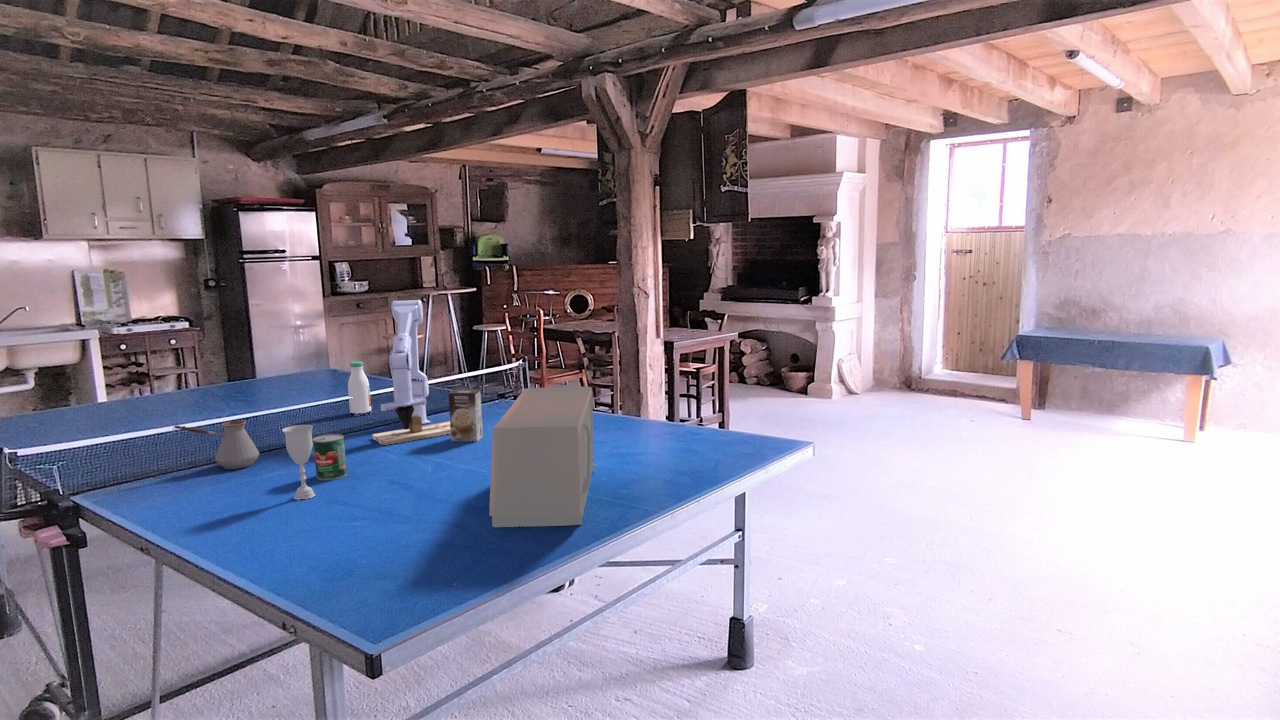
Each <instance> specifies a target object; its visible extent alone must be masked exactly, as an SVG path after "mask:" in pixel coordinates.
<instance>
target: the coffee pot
mask: <svg viewBox="0 0 1280 720" xmlns="http://www.w3.org/2000/svg"><path fill="white" fill-rule="evenodd" d="M245 424H247V421H246V420H231V421H226V422H223V423H222V424H220V425H221V427H222V428H223V431H224V432H223V433H222V432H215V431H210V430H206V429H201V428H198V427H186V426H185V425H183V426H181V425H174V426H173V428H172V430H171V431H172V433H173V434H174V433H176V431H177V430H182V431H188V432H191V433H197V434H198V433H199V434H203V435H204V434H207V435H211V436H218V437H222V438H221V441H220V445H219V448H218V450H217V452H216V455H215V457H214V459H215V462H216V463H217V465H219V466H221V467H223V469H225V470H237V469H242V468H247V467H250V466H252V465H253V464H254V463H255V462H256V461H257V460H258V458H259V455H260V452H259V450H258V448H257V447H256V445H255V443H254V442H253V440H252V438H251V437H250V436H249V434H248V432H247V431H246V428H245Z"/></svg>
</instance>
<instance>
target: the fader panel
mask: <svg viewBox="0 0 1280 720" xmlns="http://www.w3.org/2000/svg"><path fill="white" fill-rule="evenodd" d="M446 434H449V435H451V429H450V420H449V421H443V422H438V423H432V424H431V423H430V424H425V425H422V431H418V432H412V431H410V430H409V429H406V430H405V429H403V428H402V429H395V430H389V431H384V432H378V433H373V434H371V437H372V438H373V439H372V440H374V441H375V440H376V441H375V442H377V441H378V442H379V443H378V442H377V443H378V444H379V445H381V444H382V445H381V446H383V445H387V446H390V445H389V444H393V445H396V444H395V443H398V444H402V442H404V443H409V442H414V441H413V440H415V441H420V440H419V439H421V440H426V439H431V438H430V437H432V438H437V437H441V435H443V436H447V435H446ZM436 436H437V437H436ZM425 438H426V439H425ZM408 441H409V442H408Z"/></svg>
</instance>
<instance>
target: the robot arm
mask: <svg viewBox="0 0 1280 720" xmlns="http://www.w3.org/2000/svg"><path fill="white" fill-rule="evenodd" d="M391 315H392V317H393V319H394V320H395V323H396V324H397V334H396V335H395V336H394V337H393V343H392V344H393V345H392V351H391V354H389V356H388V357H389V358H388V363H389V368H390V374H391V375H390V376H391V377H392V384H393V398H394V399H393V401H392V402H387V403H381V404H380V410H381V412H386V411H390V410H394V411H395V413H396V414H397V416H398V418H399V420H400V422H401V426H402V429H405V430H406V429H409V424H410V419H411V416H412V415H419V416H421V421H422V425H424V424H425V425H427V424H431V420H428V419H427V409H426V406H427V397H428V396H429V393H430V390H429V388H430V386H429V381H428V376H427V375H426V373H424V372H423V371H421V370H420V365H419V364H420V363H419V362H420V361H419V340H418V338H419V337H418V329H419V326H420V325H421V324H423V323H424V322H423V321H424V307H423V302H422V300H421V299H417V300H416V299H415V300H414V299H413V300H392V302H391Z"/></svg>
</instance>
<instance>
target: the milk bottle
mask: <svg viewBox="0 0 1280 720" xmlns="http://www.w3.org/2000/svg"><path fill="white" fill-rule="evenodd" d="M349 367H350V370H351V371H350V376H349V379H348V381H347V382H348V383H347V390H348V391H347V392H348V393H347V394H348V402H349V403H348V405H349V412H350V413H356V414H358V413H366V412H369V411H371V410H372V400H371V399H372V398H371V390H370V389H371V387H370V382H369V380H368V377H367V375H366V374H365V371H364V362H363V361H351V362H349ZM349 397H353V398H352V399H349ZM371 412H372V411H371Z"/></svg>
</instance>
